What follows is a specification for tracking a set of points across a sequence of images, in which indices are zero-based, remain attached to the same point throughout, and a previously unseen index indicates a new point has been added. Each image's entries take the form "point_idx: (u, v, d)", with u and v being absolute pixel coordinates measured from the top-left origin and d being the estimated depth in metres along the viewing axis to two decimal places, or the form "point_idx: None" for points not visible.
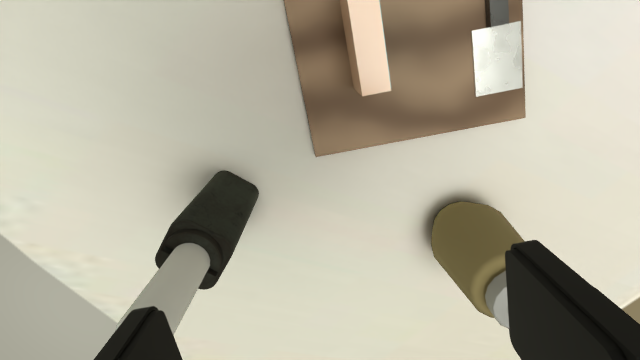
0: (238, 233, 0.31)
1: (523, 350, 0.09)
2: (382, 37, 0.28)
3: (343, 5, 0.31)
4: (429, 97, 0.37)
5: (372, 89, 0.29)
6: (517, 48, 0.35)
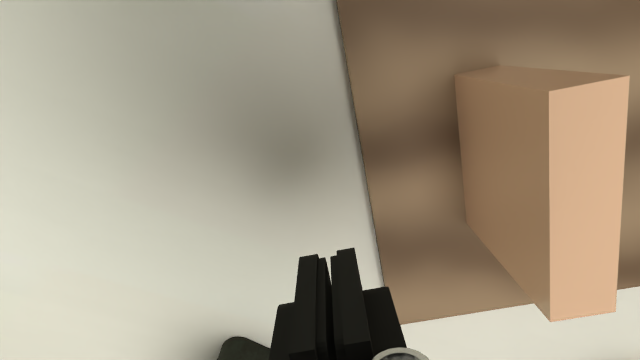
0: None
1: None
2: (617, 210, 0.12)
3: (487, 107, 0.15)
4: None
5: (575, 309, 0.13)
6: None
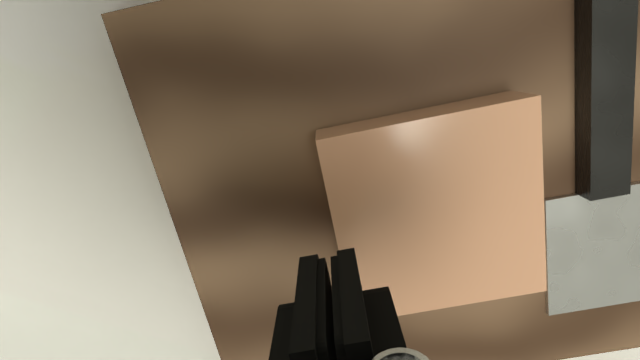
0: None
1: None
2: None
3: (421, 148, 0.14)
4: (455, 314, 0.19)
5: None
6: (637, 232, 0.17)
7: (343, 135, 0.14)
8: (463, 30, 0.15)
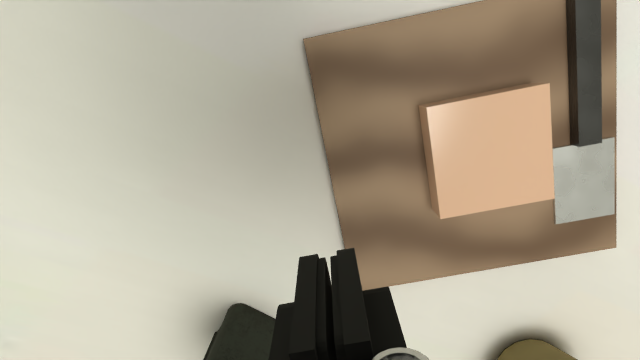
0: None
1: None
2: None
3: (484, 112, 0.25)
4: (497, 224, 0.30)
5: None
6: (608, 169, 0.28)
7: (442, 104, 0.25)
8: (505, 48, 0.26)
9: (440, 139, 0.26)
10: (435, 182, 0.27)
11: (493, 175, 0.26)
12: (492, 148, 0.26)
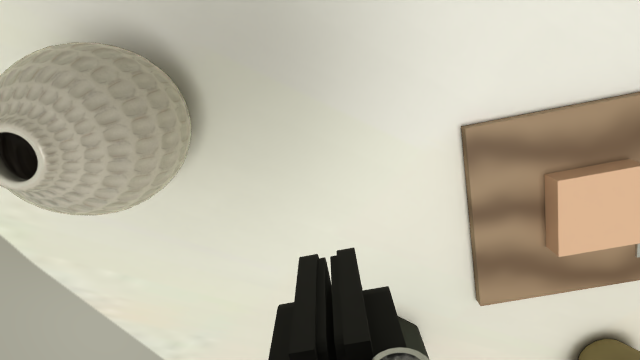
0: None
1: None
2: None
3: (598, 184, 0.35)
4: (593, 257, 0.40)
5: None
6: None
7: (569, 179, 0.35)
8: (611, 135, 0.36)
9: (565, 202, 0.36)
10: (557, 231, 0.37)
11: (600, 227, 0.36)
12: (601, 208, 0.36)
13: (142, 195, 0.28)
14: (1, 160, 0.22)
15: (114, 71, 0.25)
